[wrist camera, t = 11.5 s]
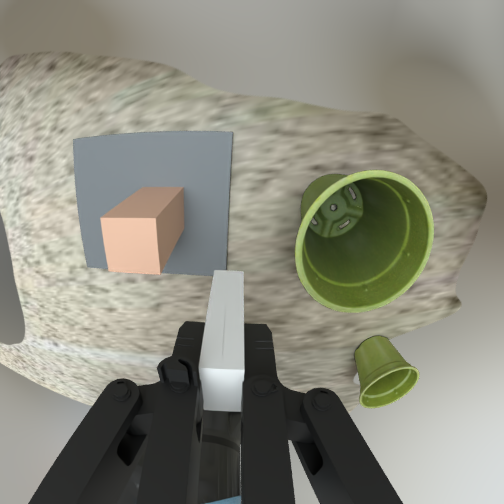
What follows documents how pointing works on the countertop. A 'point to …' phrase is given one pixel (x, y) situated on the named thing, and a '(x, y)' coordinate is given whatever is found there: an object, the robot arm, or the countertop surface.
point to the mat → (158, 175)
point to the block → (143, 230)
